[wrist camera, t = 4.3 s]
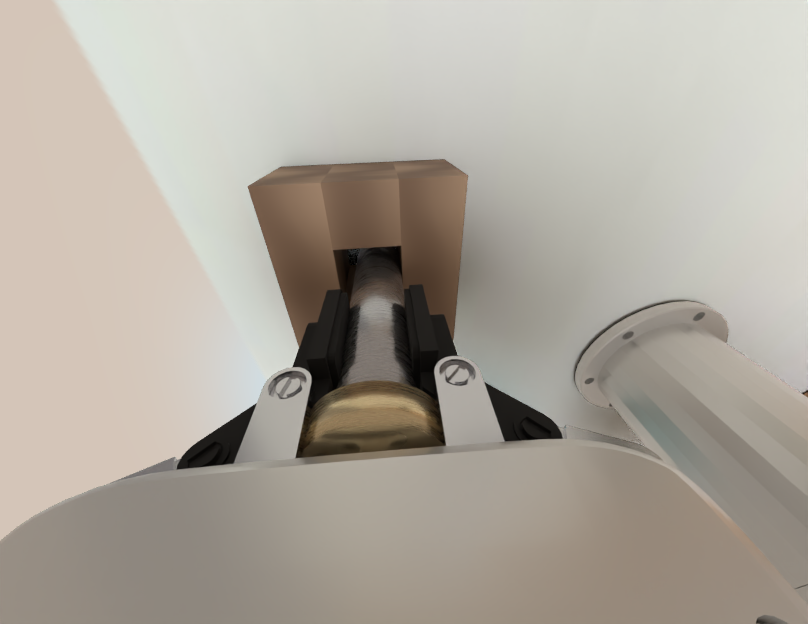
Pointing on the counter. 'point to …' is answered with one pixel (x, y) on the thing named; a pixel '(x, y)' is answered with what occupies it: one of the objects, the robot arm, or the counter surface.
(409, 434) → the lock pin
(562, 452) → the robot arm
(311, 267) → the block
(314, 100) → the counter surface
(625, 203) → the counter surface
